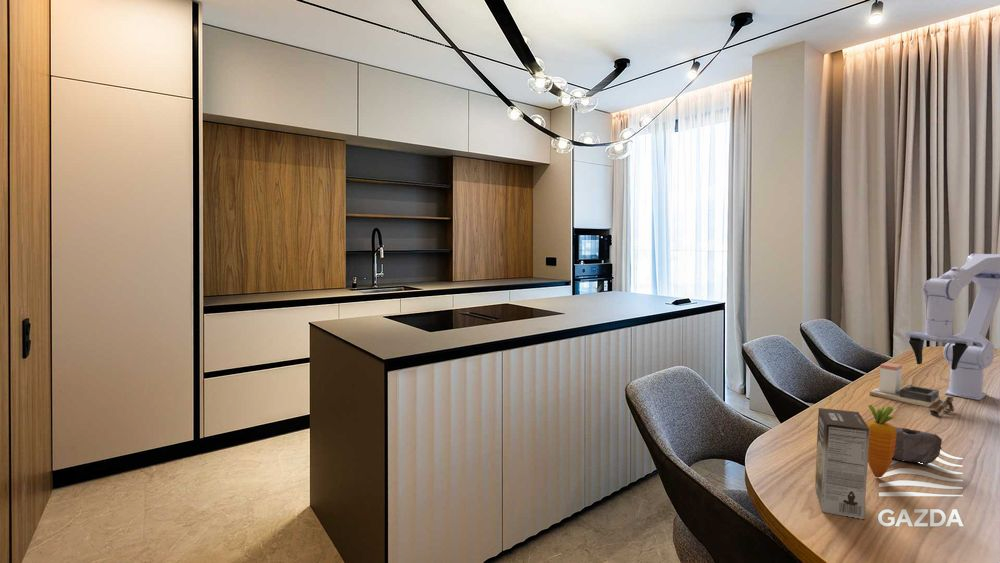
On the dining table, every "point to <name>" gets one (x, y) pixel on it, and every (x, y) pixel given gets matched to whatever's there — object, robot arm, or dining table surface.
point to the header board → (911, 395)
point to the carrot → (881, 441)
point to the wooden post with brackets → (942, 406)
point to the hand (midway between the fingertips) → (936, 366)
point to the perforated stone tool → (916, 446)
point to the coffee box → (842, 462)
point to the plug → (890, 377)
